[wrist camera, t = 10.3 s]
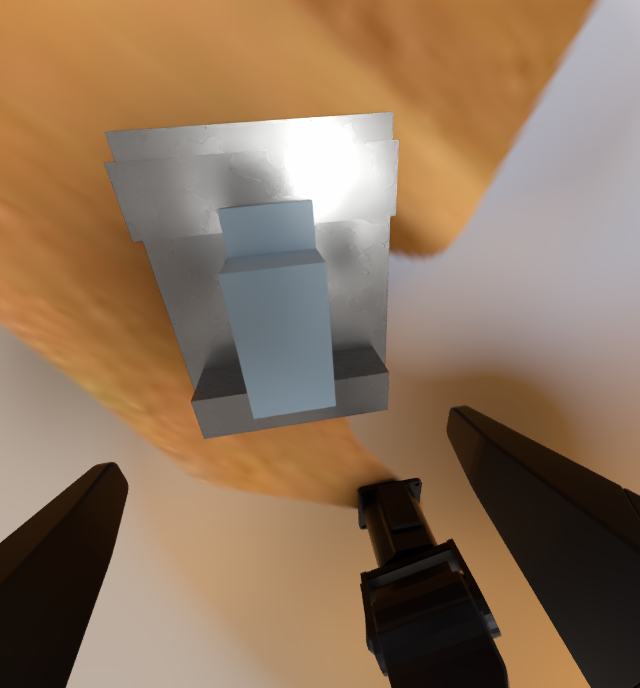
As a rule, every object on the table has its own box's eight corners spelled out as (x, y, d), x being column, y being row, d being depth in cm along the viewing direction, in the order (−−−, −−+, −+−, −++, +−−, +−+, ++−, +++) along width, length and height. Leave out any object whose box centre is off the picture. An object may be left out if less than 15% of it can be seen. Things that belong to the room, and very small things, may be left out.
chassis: (381, 388, 24) (400, 424, 21) (206, 415, 23) (194, 457, 20) (389, 114, 16) (424, 93, 12) (110, 133, 14) (57, 116, 11)
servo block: (229, 204, 16) (203, 215, 10) (303, 196, 16) (322, 203, 10) (264, 372, 21) (260, 448, 15) (319, 364, 22) (337, 435, 16)
